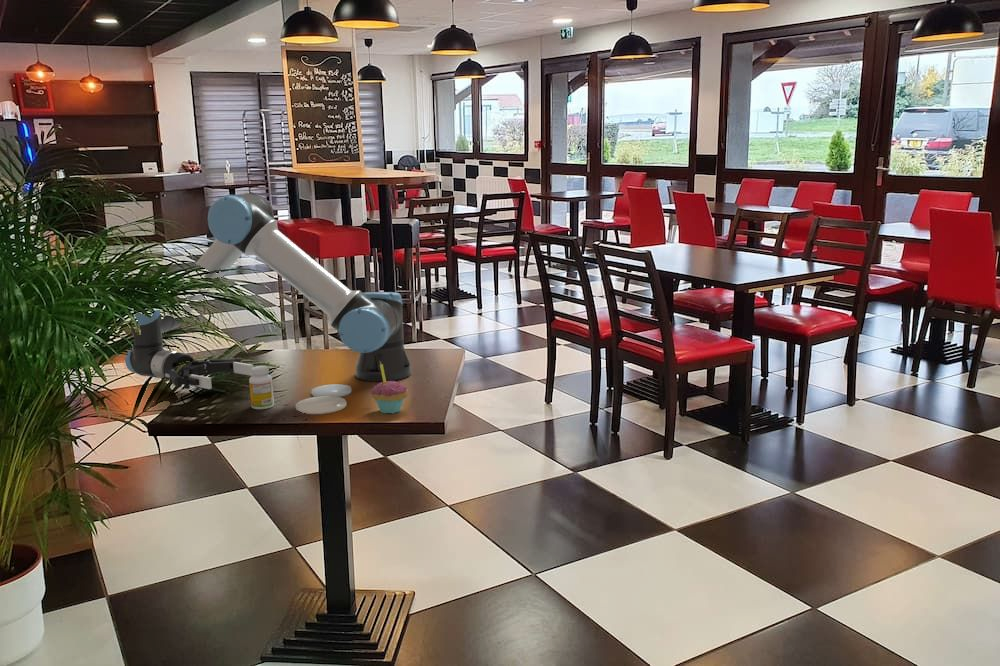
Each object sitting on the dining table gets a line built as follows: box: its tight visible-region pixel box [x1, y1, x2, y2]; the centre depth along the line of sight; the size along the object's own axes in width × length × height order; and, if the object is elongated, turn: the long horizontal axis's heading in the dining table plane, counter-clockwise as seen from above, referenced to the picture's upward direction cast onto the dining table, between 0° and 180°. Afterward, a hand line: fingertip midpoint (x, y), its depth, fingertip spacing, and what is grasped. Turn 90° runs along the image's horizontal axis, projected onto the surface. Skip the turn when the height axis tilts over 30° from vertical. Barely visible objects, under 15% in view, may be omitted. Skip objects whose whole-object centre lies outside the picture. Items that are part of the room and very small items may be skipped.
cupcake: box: [370, 362, 409, 414], centre depth 191 cm, size 9×8×12 cm
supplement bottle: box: [248, 365, 275, 410], centre depth 196 cm, size 5×5×10 cm
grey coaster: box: [310, 383, 352, 398], centre depth 207 cm, size 10×10×1 cm
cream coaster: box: [295, 396, 347, 415], centre depth 196 cm, size 12×12×1 cm
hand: (232, 376), depth 200 cm, fingers open, 13 cm apart
